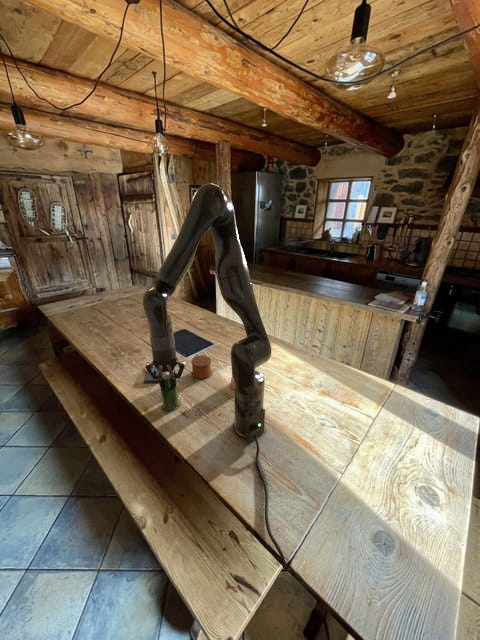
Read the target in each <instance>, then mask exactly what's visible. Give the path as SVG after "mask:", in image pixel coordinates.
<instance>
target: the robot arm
mask: <svg viewBox="0 0 480 640" xmlns="http://www.w3.org/2000/svg"><path fill="white" fill-rule="evenodd" d="M190 202H191V203H190V205H189V207H188V210H187V213H186V215H185V218H184V220H183V223H182V224H181V227H180V229H179V232H178V235H177V236H176V239H175V241H174V243H173V245H172V247H171V249H170V250H169V252H168V254H167V255H166V257H165V259H164V260H163V262H162V264H161V266H160V267H159V270H158V272H157V275H156V277H155V279H154V280H153V281H152V283H151V285H150V286H149V288H147V290H146V291H145V292H144V293H143V295H142V307H143V311H144V314H145V317H146V320H147V321H148V328H149V338H150V339H149V340H150V348H151V353H152V361H147V362H146V364H145V367H144V368H145V369H146V371H147V373H148V372H149V374H150V375H151V377H152V378H153V379H158V380H159V382H158V384H159V387H160V388H161V387H162V389H164V382H163V372H165V373H166V372H167V373H169V375H171V378H172V380H171V382H172V388H175V387H176V385H177V384H178V381H177V379H181V377H182V374H183V372H184V370H185V367H186V361H185V360H182V361H181V360H179V358H178V357H177V351H176V340H175V334H174V331H173V330H174V328H173V320H172V318H171V315H170V314H169V311H168V303H169V301H170V299H171V298H172V296H173V294H174V292H175V291H176V289H177V287H178V286H179V284H180V283H181V282H182V281H183V280H184V278H185V276H186V274H187V273H188V271H189V269H190V268H191V266H192V264H193V262H194V259H195V256H196V252H197V249H198V246H199V244H200V242H201V239H202V238H203V236H204V234H205V233H206V232H207V230H208V229H209V230H210V233H211V236H212V239H213V242H214V249H215V250H214V251H215V252H214V253H215V255H214V256H215V257H214V258H215V263H214V265H215V277H216V280H217V284H218V287H219V288H218V289H219V292H220V296H221V297H222V299H223V301H224V302H225V303H226V305H227V306H229V308H230V309H231V310H232V311H233V312H234V313H235V314H236V315H237V316H238V317H239V319H240V320H241V323H242V325H243V328H244V332H245V335H246V337H244V338H241V339H239V340H238V341H236V342H234V343H233V344H232V345H231V349H230V364H231V377H232V376H233V379H234V383H235V390H234V426H233V427H234V430H235V432H236V434H237V435H238V436H240V437H242V438H244V439H246V440H247V442H248V443H252V442H255V446H256V453H255V464H256V468H257V471H258V474H259V476H260V479H261V482H262V485H263V490H264V521H265V527H266V531H267V534H268V536H269V539H270V540H271V542H272V544H273V545H274V547H275V549H276V550H277V552H278V555H279V557H280V560H281V563H282V568H283V569H284V570H286V569H288V568H287V566H288V565H287V561H286V558H285V555H284V552H283V551H282V549H281V546H280V545H279V543H278V542H277V539H276V538H275V537H274V535H273V533H272V531H271V527H270V526H271V525H270V522H269V492H268V486H267V485H268V484H267V483H266V480H265V477H264V474H263V472H262V469H261V466H260V461H259V454H260V443H259V441H258V438H260V437H262V434H263V433H265V424H266V423H265V420H266V409H265V408H264V400H265V399H264V398H265V385H266V384H265V383H266V380H265V377H264V375H263V374H262V373H261V372H260V371H258V370H256V369H258V368H259V367H261V366H262V365H264V364H266V363H267V362H268V361H269V360H270V359H271V357H272V345H271V342H270V339H269V336H268V333H267V330H266V327H265V326H264V322H263V320H262V317H261V313H260V310H259V307H258V302H257V300H256V296H255V292H254V288H253V282H252V279H251V275H250V271H249V267H248V265H247V261H246V258H245V254H244V251H243V247H242V245H241V241H240V239H239V238H240V237H239V234H238V228H237V227H238V226H237V222H236V215H235V214H236V213H235V209H234V208H235V207H234V202H233V200H232V198H231V196H230V195H229V194H228V192H226V191H225V190H224V189H223V188H221V187H220V186H219V185H218V184H215V183H212V182H211V183H205V184H202V185H201V186H199V187H198V188H197V189H196V192H195V193H194V195H193V197H192V199H191V201H190ZM177 365H178V366H177ZM154 367H156V368H157V369H158V370H159V373H157V372H156V370H155V369H154ZM176 367H178V371H177V372H176Z"/></svg>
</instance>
